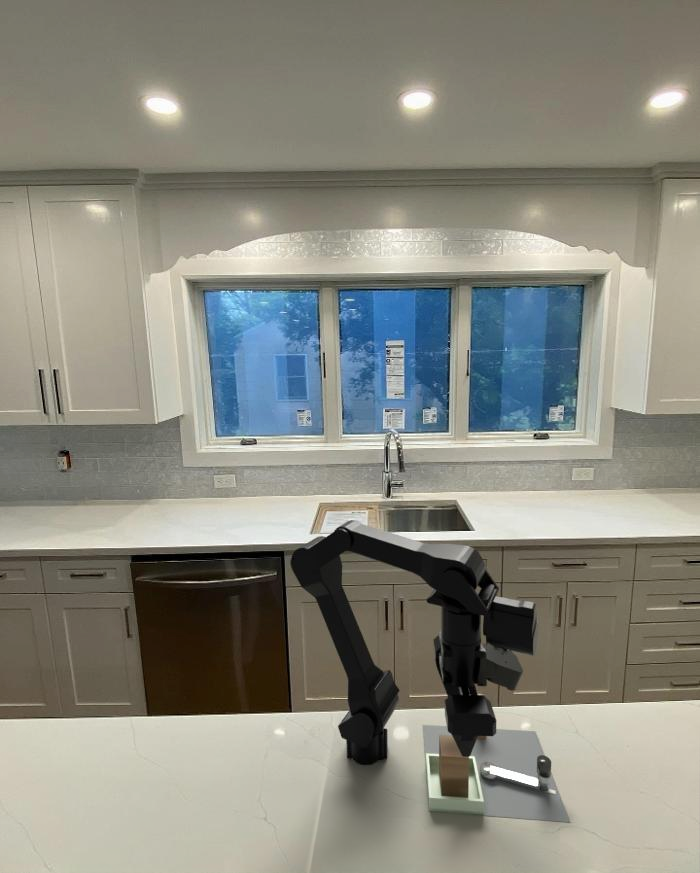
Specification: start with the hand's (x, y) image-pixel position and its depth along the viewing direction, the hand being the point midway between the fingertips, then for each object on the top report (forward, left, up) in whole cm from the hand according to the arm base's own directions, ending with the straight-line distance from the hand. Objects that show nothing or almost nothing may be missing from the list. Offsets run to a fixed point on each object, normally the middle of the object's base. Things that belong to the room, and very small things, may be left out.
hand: (460, 730), depth 68 cm
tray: (-1, 0, -10) cm, 10 cm away
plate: (+5, +5, -12) cm, 13 cm away
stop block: (-1, 0, -10) cm, 10 cm away
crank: (+9, +2, -10) cm, 14 cm away
